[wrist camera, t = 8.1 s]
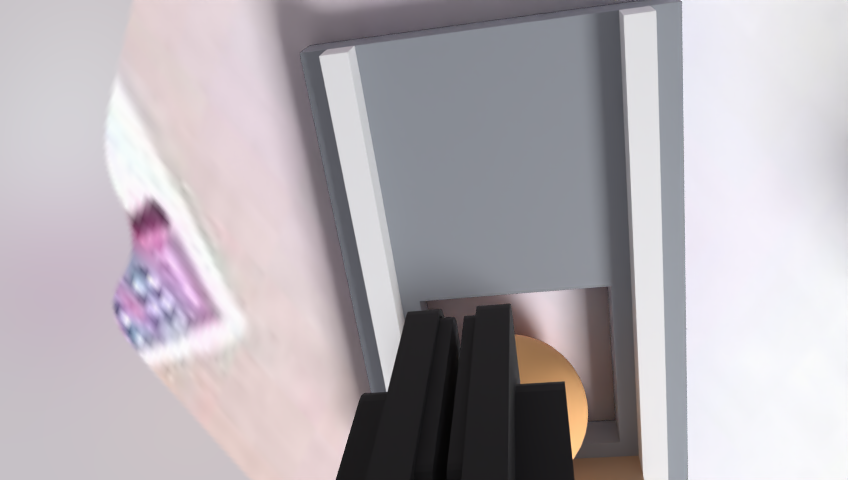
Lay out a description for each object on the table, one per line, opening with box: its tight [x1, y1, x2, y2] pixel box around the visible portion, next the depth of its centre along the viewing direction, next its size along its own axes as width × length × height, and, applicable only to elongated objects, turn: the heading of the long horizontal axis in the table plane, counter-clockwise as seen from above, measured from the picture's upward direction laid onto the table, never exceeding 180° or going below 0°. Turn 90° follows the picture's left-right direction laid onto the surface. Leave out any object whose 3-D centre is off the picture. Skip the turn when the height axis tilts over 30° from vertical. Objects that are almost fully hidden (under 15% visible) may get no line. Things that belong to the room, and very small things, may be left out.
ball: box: [515, 335, 588, 459], centre depth 30 cm, size 6×6×6 cm
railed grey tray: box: [300, 0, 688, 480], centre depth 29 cm, size 20×13×4 cm, turn 8°
